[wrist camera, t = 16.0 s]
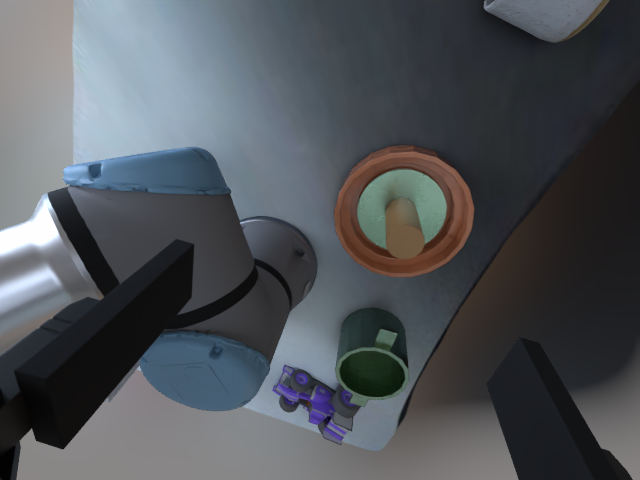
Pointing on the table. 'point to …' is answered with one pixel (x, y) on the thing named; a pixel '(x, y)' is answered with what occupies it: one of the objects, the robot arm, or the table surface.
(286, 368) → the toy race car
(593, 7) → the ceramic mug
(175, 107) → the table surface
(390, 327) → the green open cylinder
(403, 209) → the green disc with rod
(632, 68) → the table surface
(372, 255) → the bowl
